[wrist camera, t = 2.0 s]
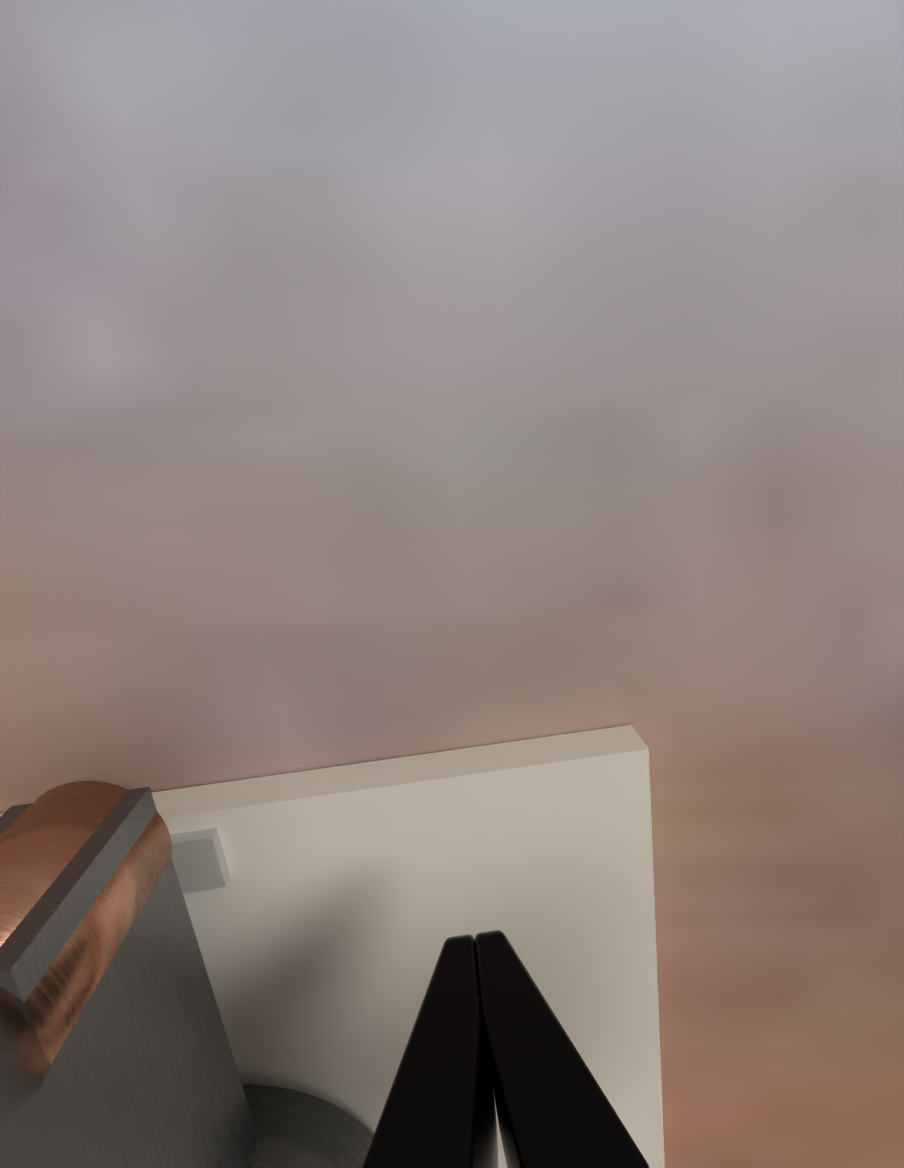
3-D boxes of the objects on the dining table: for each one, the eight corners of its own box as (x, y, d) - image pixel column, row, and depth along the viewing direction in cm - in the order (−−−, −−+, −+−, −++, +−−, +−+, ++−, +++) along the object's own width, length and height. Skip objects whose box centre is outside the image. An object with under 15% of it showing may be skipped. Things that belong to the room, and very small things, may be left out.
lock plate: (658, 1306, 18) (676, 1371, 17) (2, 1410, 18) (-30, 1484, 17) (631, 725, 13) (654, 757, 11) (-324, 859, 12) (-409, 908, 11)
